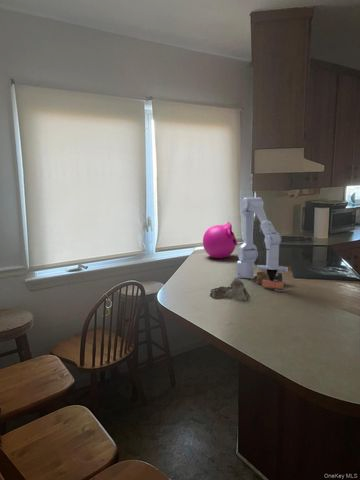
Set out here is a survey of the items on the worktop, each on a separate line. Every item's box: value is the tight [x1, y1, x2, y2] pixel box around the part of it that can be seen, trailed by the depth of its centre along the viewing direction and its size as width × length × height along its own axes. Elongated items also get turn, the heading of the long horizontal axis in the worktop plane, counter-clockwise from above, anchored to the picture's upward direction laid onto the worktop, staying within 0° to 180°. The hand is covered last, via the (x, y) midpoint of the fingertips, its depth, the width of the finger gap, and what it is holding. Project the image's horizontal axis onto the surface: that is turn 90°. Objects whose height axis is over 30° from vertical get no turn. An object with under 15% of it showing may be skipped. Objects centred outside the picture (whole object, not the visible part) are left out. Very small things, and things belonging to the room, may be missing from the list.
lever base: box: [273, 288, 286, 293], centre depth 167 cm, size 5×5×1 cm
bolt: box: [274, 271, 284, 282], centre depth 180 cm, size 11×4×6 cm, turn 69°
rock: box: [209, 277, 250, 301], centre depth 159 cm, size 18×11×10 cm, turn 78°
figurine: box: [202, 221, 238, 259], centre depth 243 cm, size 23×24×25 cm
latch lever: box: [261, 280, 285, 290], centre depth 169 cm, size 4×10×3 cm, turn 53°
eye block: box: [256, 270, 270, 285], centre depth 181 cm, size 6×8×6 cm
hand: (271, 284), depth 172 cm, fingers closed
